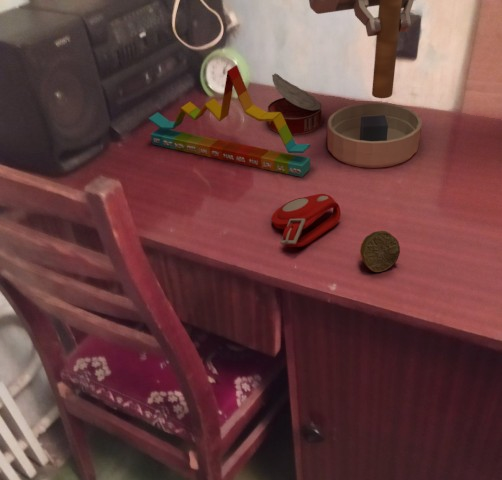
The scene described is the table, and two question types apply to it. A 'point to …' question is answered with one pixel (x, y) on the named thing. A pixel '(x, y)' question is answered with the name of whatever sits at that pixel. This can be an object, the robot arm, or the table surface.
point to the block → (373, 128)
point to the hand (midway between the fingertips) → (389, 31)
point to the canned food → (295, 108)
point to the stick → (386, 48)
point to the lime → (380, 251)
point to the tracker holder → (305, 218)
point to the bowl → (374, 152)
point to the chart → (229, 149)
